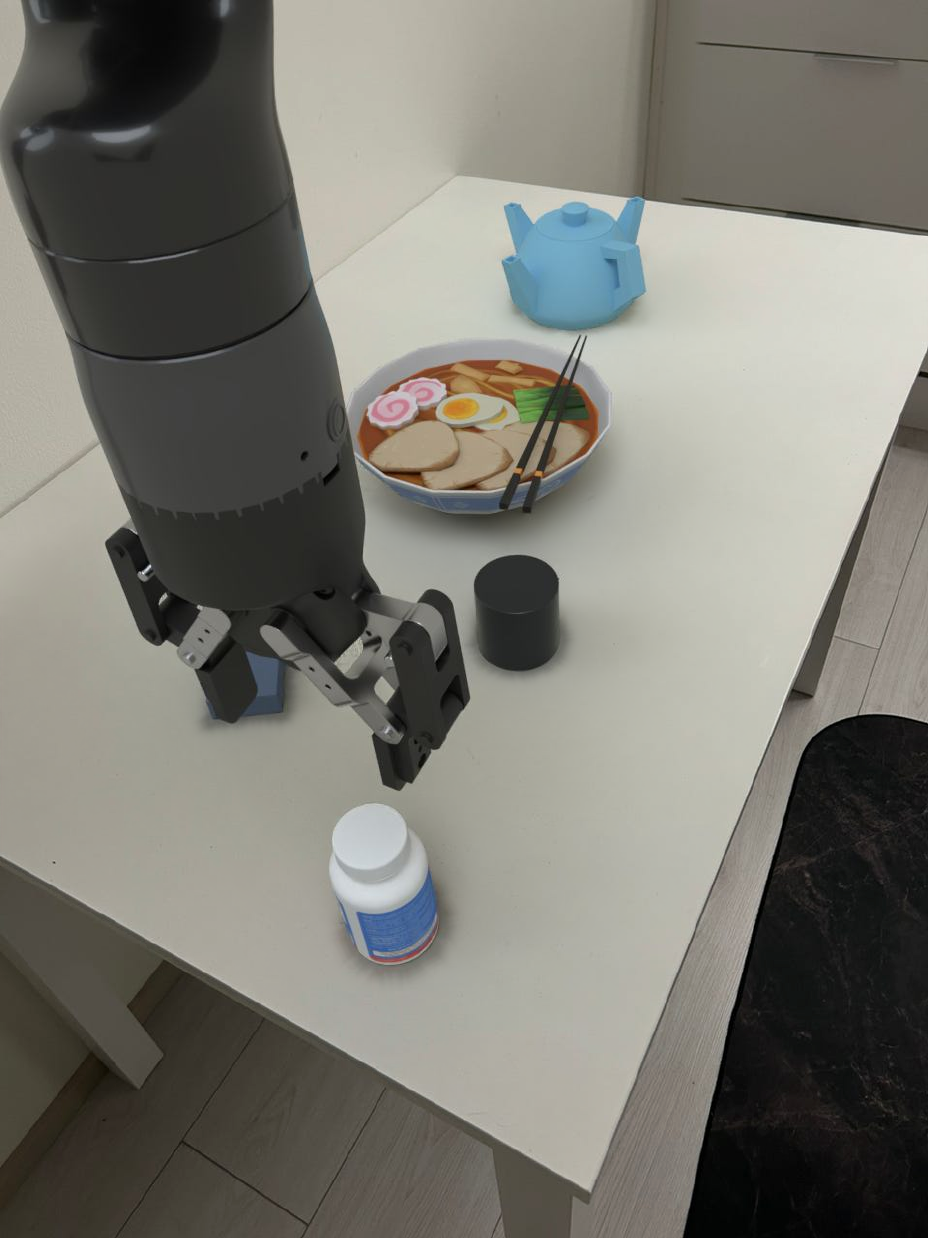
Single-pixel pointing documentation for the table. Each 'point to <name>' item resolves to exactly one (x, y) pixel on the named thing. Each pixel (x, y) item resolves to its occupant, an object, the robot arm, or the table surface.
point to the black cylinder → (517, 612)
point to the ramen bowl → (479, 423)
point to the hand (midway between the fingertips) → (319, 739)
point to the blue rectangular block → (264, 686)
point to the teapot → (575, 264)
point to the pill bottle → (383, 885)
